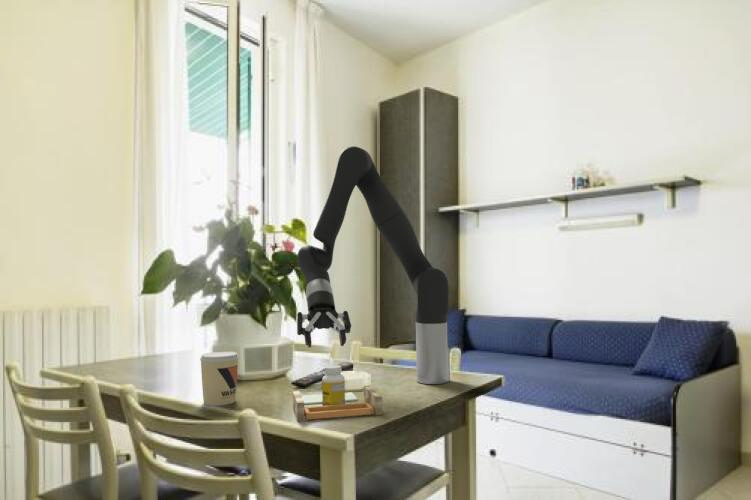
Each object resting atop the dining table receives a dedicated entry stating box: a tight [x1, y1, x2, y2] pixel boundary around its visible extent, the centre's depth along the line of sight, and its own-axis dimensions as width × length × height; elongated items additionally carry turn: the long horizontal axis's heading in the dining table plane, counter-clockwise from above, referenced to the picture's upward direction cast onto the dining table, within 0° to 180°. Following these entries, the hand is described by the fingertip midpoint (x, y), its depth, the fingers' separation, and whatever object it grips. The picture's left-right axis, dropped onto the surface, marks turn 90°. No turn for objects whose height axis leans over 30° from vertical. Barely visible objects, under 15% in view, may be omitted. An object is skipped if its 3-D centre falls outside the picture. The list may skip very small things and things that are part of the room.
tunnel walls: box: [291, 385, 383, 423], centre depth 120 cm, size 12×19×4 cm, turn 104°
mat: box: [301, 391, 359, 406], centre depth 132 cm, size 8×14×1 cm, turn 104°
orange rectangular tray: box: [304, 402, 374, 422], centre depth 117 cm, size 6×15×2 cm, turn 104°
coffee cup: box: [199, 351, 239, 407], centre depth 131 cm, size 9×9×12 cm
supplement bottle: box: [321, 364, 346, 406], centre depth 124 cm, size 5×5×10 cm
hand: (326, 344), depth 134 cm, fingers open, 8 cm apart
